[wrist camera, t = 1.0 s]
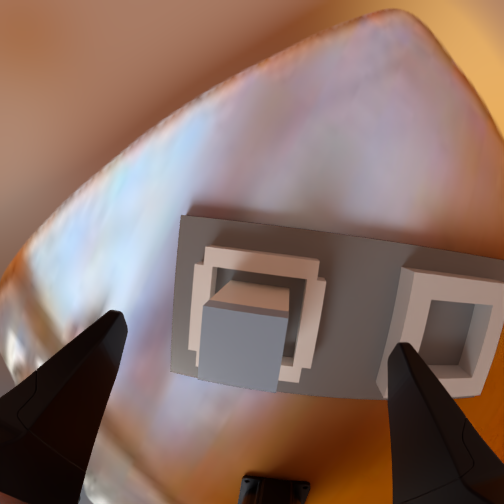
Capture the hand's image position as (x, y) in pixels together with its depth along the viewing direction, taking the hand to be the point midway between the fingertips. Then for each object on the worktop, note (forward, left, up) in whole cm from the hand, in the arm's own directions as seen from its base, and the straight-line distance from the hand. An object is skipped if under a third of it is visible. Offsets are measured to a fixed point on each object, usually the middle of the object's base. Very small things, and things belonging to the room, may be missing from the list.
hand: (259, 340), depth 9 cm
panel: (-3, -6, -13) cm, 14 cm away
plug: (-3, +1, -12) cm, 12 cm away
